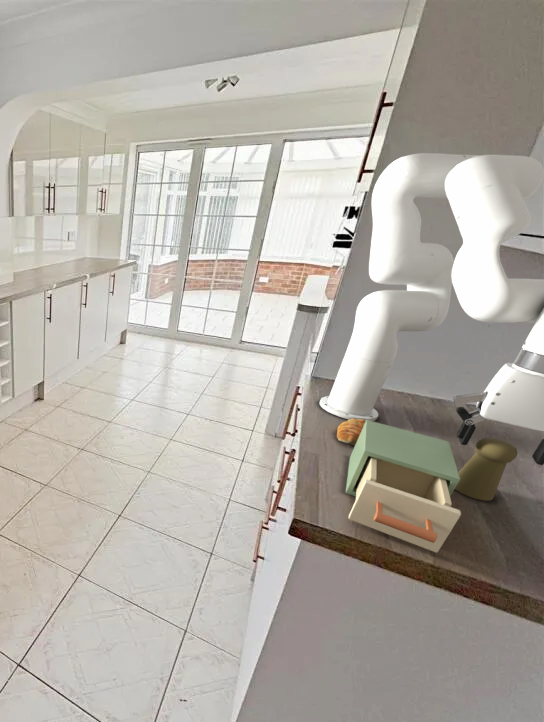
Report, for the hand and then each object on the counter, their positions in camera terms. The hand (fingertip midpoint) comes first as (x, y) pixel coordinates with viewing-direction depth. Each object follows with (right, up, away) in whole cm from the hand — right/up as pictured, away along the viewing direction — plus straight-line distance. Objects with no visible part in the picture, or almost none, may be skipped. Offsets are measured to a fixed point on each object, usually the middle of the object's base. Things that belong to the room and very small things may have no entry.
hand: (498, 451), depth 75 cm
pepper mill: (0, -8, +4) cm, 10 cm away
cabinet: (-17, -8, +4) cm, 19 cm away
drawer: (-24, -11, -5) cm, 27 cm away
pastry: (-10, -1, +21) cm, 23 cm away
